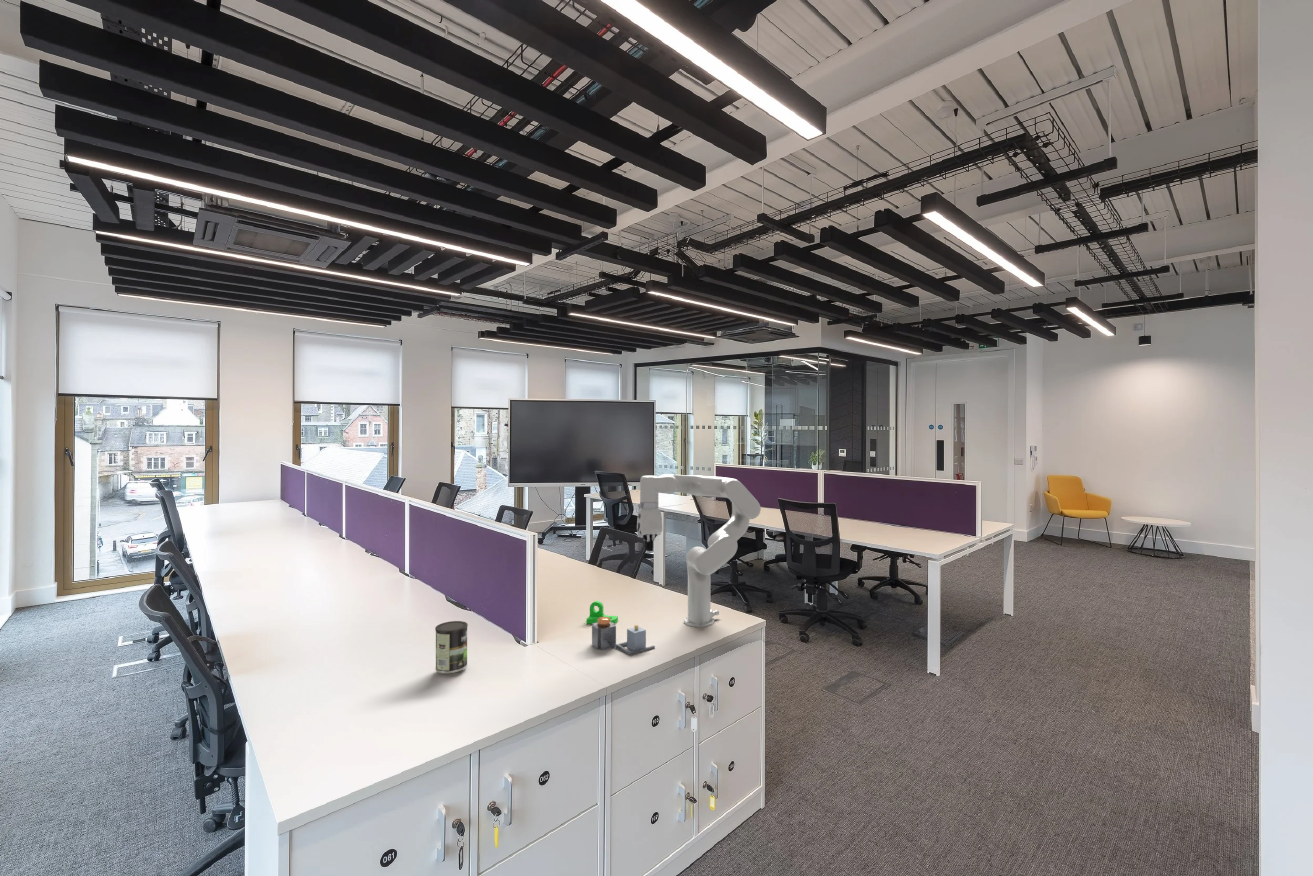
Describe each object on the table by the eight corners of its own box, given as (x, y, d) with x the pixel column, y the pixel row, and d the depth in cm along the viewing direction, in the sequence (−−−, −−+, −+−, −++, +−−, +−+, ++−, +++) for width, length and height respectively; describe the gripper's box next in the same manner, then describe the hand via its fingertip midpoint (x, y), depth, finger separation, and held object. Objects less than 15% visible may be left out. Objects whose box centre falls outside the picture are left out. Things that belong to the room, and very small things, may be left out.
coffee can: (469, 660, 189) (470, 619, 189) (464, 672, 179) (464, 630, 179) (439, 662, 187) (439, 621, 187) (431, 674, 177) (431, 632, 177)
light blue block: (638, 644, 202) (638, 622, 202) (645, 649, 198) (645, 626, 198) (627, 647, 199) (627, 625, 199) (634, 652, 195) (634, 628, 195)
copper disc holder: (607, 640, 208) (607, 620, 208) (617, 646, 201) (617, 625, 201) (590, 644, 203) (590, 624, 203) (599, 651, 197) (600, 629, 197)
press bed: (640, 640, 207) (640, 636, 207) (658, 651, 197) (658, 646, 197) (611, 648, 200) (611, 644, 200) (628, 659, 190) (628, 654, 190)
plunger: (606, 638, 206) (606, 616, 206) (612, 642, 202) (612, 619, 202) (595, 640, 203) (595, 618, 203) (601, 644, 199) (601, 621, 199)
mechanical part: (586, 623, 227) (586, 604, 227) (591, 618, 233) (591, 600, 233) (613, 625, 225) (613, 606, 225) (617, 621, 231) (617, 602, 231)
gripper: (639, 508, 213) (638, 554, 213) (669, 505, 222) (669, 550, 222) (628, 506, 219) (628, 551, 219) (658, 503, 228) (658, 547, 228)
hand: (649, 550), depth 220 cm, fingers closed
